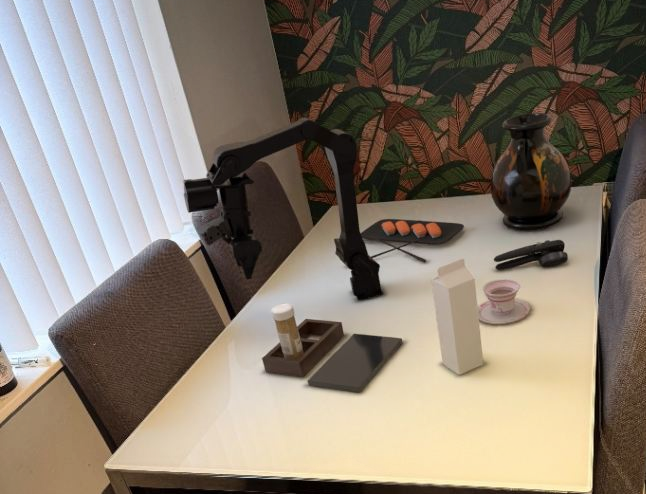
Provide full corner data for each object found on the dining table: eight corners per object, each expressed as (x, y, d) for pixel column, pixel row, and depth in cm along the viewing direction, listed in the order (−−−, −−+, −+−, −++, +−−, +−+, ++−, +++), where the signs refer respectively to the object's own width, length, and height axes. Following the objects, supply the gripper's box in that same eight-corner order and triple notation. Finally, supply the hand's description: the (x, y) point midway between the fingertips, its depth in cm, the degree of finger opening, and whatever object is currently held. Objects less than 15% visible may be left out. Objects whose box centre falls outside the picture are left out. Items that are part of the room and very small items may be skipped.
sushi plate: (468, 230, 214) (467, 217, 212) (415, 274, 194) (413, 260, 192) (382, 224, 229) (380, 211, 227) (325, 264, 209) (322, 251, 207)
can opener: (564, 255, 190) (563, 233, 187) (569, 266, 184) (568, 244, 181) (493, 264, 191) (491, 243, 189) (495, 275, 185) (494, 254, 183)
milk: (483, 364, 151) (474, 262, 140) (458, 375, 149) (446, 273, 138) (466, 353, 156) (455, 253, 145) (441, 364, 154) (428, 263, 142)
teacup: (540, 306, 168) (539, 280, 165) (509, 329, 162) (507, 303, 158) (496, 296, 176) (494, 271, 173) (464, 318, 169) (461, 293, 166)
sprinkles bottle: (310, 362, 163) (296, 306, 156) (291, 371, 161) (276, 314, 154) (300, 355, 167) (286, 300, 160) (282, 363, 165) (267, 308, 158)
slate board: (354, 338, 170) (353, 333, 169) (402, 342, 164) (402, 338, 164) (308, 385, 155) (307, 380, 155) (359, 392, 150) (358, 387, 149)
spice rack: (308, 332, 176) (305, 318, 174) (344, 335, 171) (341, 321, 170) (265, 372, 163) (261, 358, 161) (302, 377, 158) (299, 362, 157)
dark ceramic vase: (565, 236, 199) (561, 127, 185) (485, 237, 208) (475, 133, 193) (578, 206, 216) (575, 105, 201) (503, 208, 224) (496, 111, 210)
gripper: (191, 200, 173) (202, 265, 180) (204, 222, 157) (216, 292, 165) (240, 193, 176) (249, 258, 183) (257, 214, 160) (266, 283, 168)
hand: (244, 272), depth 175 cm, fingers open, 9 cm apart
